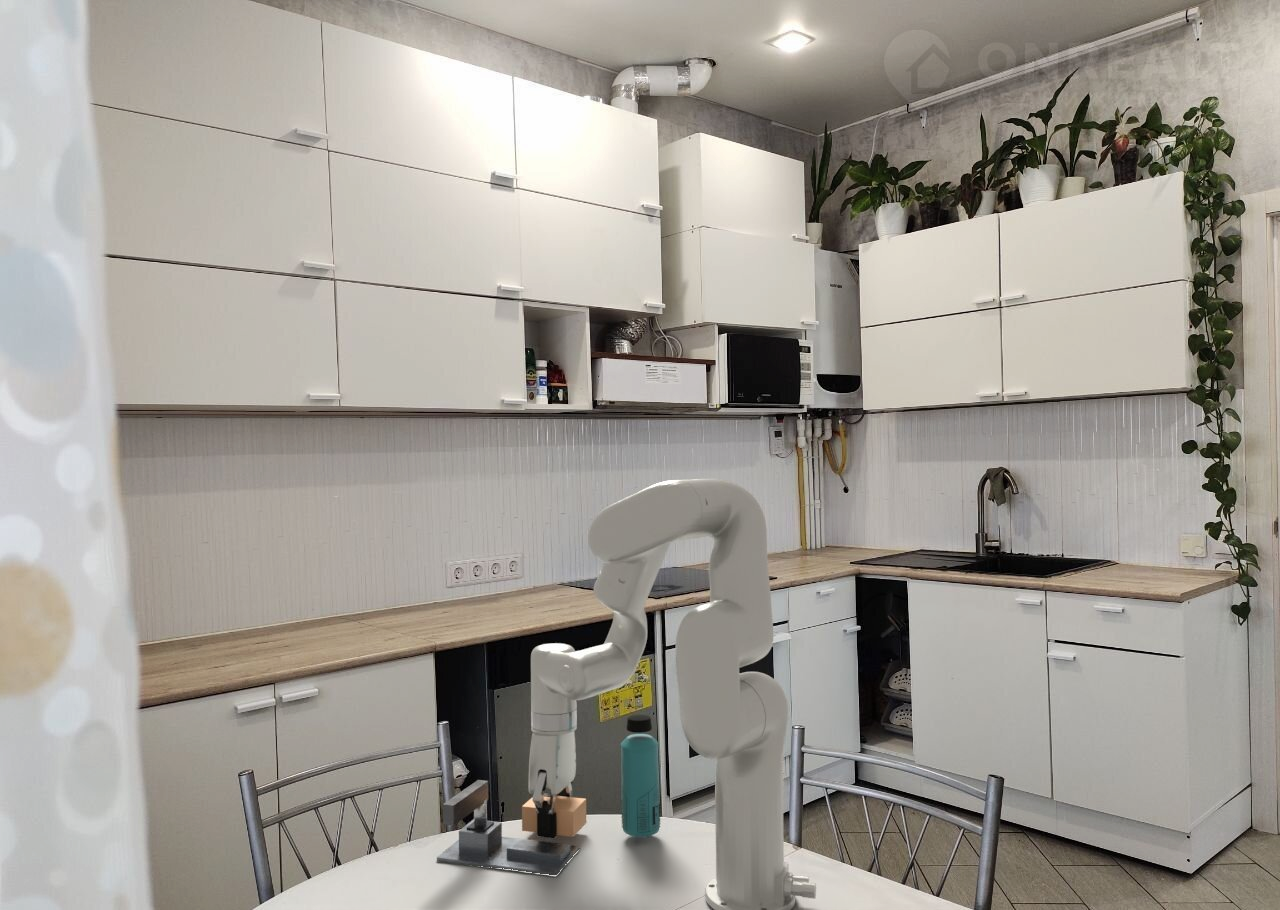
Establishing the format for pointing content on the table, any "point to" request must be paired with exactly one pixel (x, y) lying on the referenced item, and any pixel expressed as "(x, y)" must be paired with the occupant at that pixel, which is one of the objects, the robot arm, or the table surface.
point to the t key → (468, 805)
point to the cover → (558, 815)
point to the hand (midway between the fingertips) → (554, 827)
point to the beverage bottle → (640, 779)
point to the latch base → (506, 851)
